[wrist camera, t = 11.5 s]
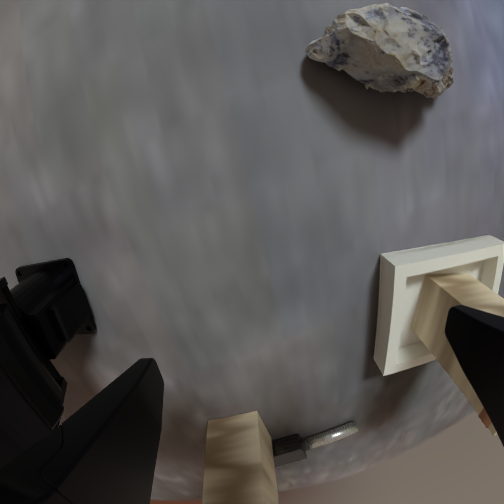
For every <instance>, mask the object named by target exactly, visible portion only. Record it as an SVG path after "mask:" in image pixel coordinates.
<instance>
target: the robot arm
mask: <svg viewBox="0 0 504 504" xmlns="http://www.w3.org/2000/svg"><path fill="white" fill-rule="evenodd" d="M66 263H67V264H68V265H69V267H67V266H66ZM20 272H21V273H20ZM15 273H16V276H17V279H18V282H19V284H18V285H16V286H15V287H14V288H12V289H11V290H9V288H8V286H7V284H8V283H7V281H6V279H5V277H3V278H1V279H0V504H150V498H151V491H152V484H153V477H154V471H155V464H156V458H157V452H158V446H159V440H160V434H161V426H162V409H163V393H164V381H163V378H162V375H161V373H160V370H159V368H158V365H157V363H156V361H155V359H153V358H142V359H139V360H138V361H137V362H136V363H134V364H133V365H132V366H131V367H130V368H128V369H127V370H126V371H125V372H124V373H122V374H121V375H120V376H119V377H118V378H116V379H115V380H114V381H113V382H112V383H110V384H109V385H108V386H107V387H106V388H104V389H103V390H102V391H101V392H100V393H98V394H97V395H96V396H95V397H94V398H92V399H91V400H90V401H89V402H87V403H86V404H85V405H84V406H83V407H81V408H80V409H79V410H78V411H77V412H75V413H74V414H73V415H72V416H70V417H69V418H68V419H67V420H66V421H64V422H63V423H62V425H59V422H60V419H61V416H62V414H63V411H64V406H63V402H64V397H65V392H66V387H67V382H66V380H65V379H64V378H63V377H61V376H60V374H59V373H58V371H57V370H56V368H55V367H54V366H53V364H52V363H51V361H50V360H51V359H56V357H57V356H58V354H59V353H60V352H61V350H62V349H63V347H64V346H65V345H66V343H67V342H70V341H71V339H72V338H73V337H74V335H75V334H92V333H93V332H94V331H95V330H96V326H95V323H94V321H93V318H92V315H91V311H90V309H89V306H88V303H87V301H86V298H85V295H84V292H83V289H82V286H81V285H80V282H79V279H78V276H77V273H76V270H75V267H74V264H73V261H72V260H71V259H69V258H64V259H58V260H53V261H47V262H42V263H37V264H31V265H26V266H21V267H19V268H17V269H16V272H15ZM88 326H90V327H91V328H89V327H88ZM445 336H446V338H447V340H448V342H449V344H450V346H451V348H452V350H453V352H454V354H455V356H456V358H457V360H458V362H459V364H460V366H461V368H462V370H463V372H464V374H465V376H466V377H467V379H468V381H469V383H470V384H471V386H472V388H473V389H474V391H475V393H476V395H477V396H478V398H479V400H480V402H481V404H482V405H483V407H484V409H485V411H486V413H487V415H488V417H489V418H490V420H491V422H492V424H493V426H494V428H495V430H496V432H497V434H498V436H499V438H500V440H501V442H502V444H503V446H504V317H502V316H498V315H495V314H492V313H488V312H485V311H482V310H478V309H475V308H471V307H468V306H465V305H461V304H459V305H456V306H452V307H451V308H450V309H449V310H448V315H447V320H446V325H445ZM58 425H59V426H58Z"/></svg>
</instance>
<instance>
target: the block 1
mask: <svg viewBox="0 0 504 504" xmlns="http://www.w3.org/2000/svg"><path fill="white" fill-rule="evenodd" d="M202 504H279V500H278V491H277V483H276V474H275V466H274V457H273V449H272V441H271V436H270V434H269V433H268V431H267V429H266V427H265V425H264V423H263V421H262V419H261V417H260V415H259V413H258V411H253V412H249V413H244V414H239V415H235V416H230V417H225V418H219V419H214V420H208V425H207V438H206V452H205V466H204V482H203V498H202Z"/></svg>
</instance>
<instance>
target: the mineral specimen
mask: <svg viewBox="0 0 504 504" xmlns="http://www.w3.org/2000/svg"><path fill="white" fill-rule="evenodd" d="M324 30H325V34H323V36H322V37H321V38H319V39H318V40H313V41H312V42H311V43H310V44H309V45H308V47H307V49H306V51H305V52H307V55H308V56H309V58H310V59H312V60H315V61H319V62H325V63H326V64H327V65H328V66H330V67H332V68H335V69H336V70H338V71H340V70H342V69H343V70H344V71H345V72H347V73H348V74H349V75H350V76H352V77H353V78H354V79H356V80H357V81H359V82H361V83H364V84H365V87H366V89H368V88H369V87H371V88H372V89H375V90H379V91H380V92H385V91H389V92H396V91H400V92H405V93H406V92H413V91H416V92H418V93H421V94H423V95H425V97H426V98H432V99H433V98H436V97H437V96H439V95H441V94H442V93H443V91H444V90H446V89H447V88H449V87H450V86H451V85H452V84H453V82H454V81H453V76H452V71H453V68H452V67H451V64H452V60H451V57H452V56H451V55H450V53H451V47H450V45H449V41H448V39H447V37H446V35H445V33H444V32H443V31H442V28H441V27H438V26H436V25H435V24H434V22H433V21H432V20H431V19H429V18H428V17H426V16H424V15H422V14H420V13H418V12H416V11H413V10H411V9H408V8H406V7H399V8H396V7H394V6H391V5H389V4H388V3H385V4H374V5H368V6H366V7H363V8H359V9H348V10H347V11H346V12H345V13H343V14H340V15H338V16H337V18H336V19H335V20H334V21H333V24H332V25H329V26H327V27H326V29H324Z"/></svg>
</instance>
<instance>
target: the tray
mask: <svg viewBox="0 0 504 504" xmlns="http://www.w3.org/2000/svg"><path fill="white" fill-rule="evenodd" d="M503 264H504V242H503V241H501V240H499V239H497V238H495V237H493V236H491V235H484V236H479V237H473V238H468V239H463V240H457V241H452V242H446V243H440V244H435V245H429V246H423V247H418V248H412V249H406V250H400V251H394V252H388V253H382V254H380V281H379V301H378V316H377V328H376V339H375V348H374V357H373V359H374V361H375V362H376V364H377V366H378V368H379V369H380V371H381V373H382V375H383V376H386V375H389V374H393V373H396V372H399V371H403V370H406V369H409V368H412V367H416V366H419V365H422V364H425V363H428V362H431V361H434V360H436V358H435V357H434V355H433V354H432V353H431V352H430V350H429V349H428V348H427V347H426V346H425V344H424V343H423V342H422V341H421V340H420V338H419V337H418V336H417V335H416V334H415V332H414V331H413V330H412V329H411V326H412V323H413V320H414V316H415V313H416V309H417V305H418V302H419V298H420V294H421V290H422V286H423V282H424V277H425V274H453V273H468V274H469V275H471V276H472V277H474V278H475V279H477V280H478V281H480V282H481V283H482V284H484V285H485V286H487V287H488V288H489V289H491V290H492V291H494V292H495V293H496V294H498V290H499V286H500V281H501V275H502V270H503Z"/></svg>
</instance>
